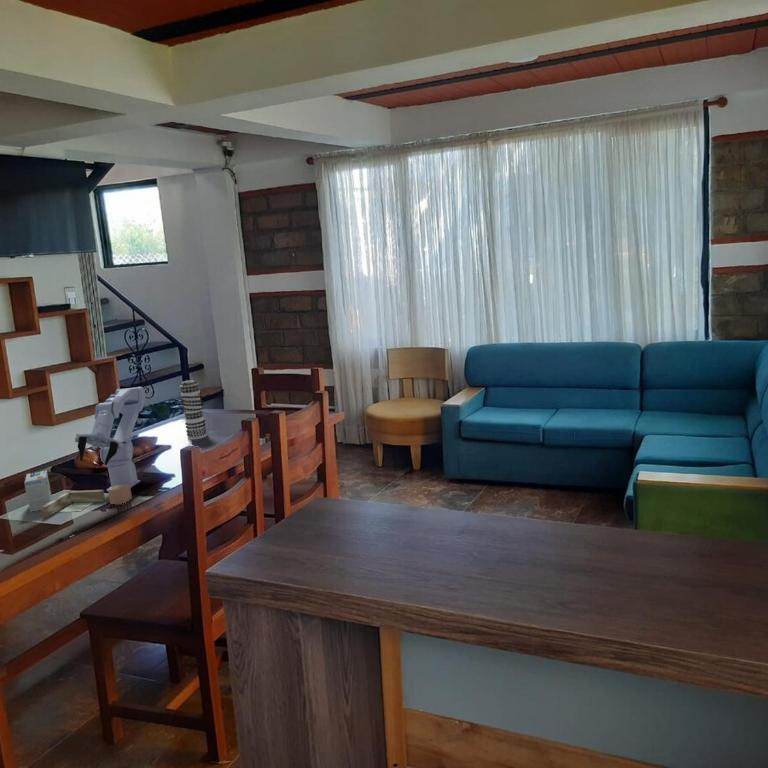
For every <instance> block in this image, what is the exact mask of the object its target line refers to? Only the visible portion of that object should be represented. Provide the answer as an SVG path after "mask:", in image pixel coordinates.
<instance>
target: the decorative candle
mask: <svg viewBox="0 0 768 768" xmlns="http://www.w3.org/2000/svg"><path fill="white" fill-rule="evenodd" d="M199 384H200V383H199V382H197V381H196V380H195V379H189V380H184V381H182V382H181V384H180V385H179V387H180V391H181V392H180V394H181V398H180V401H181V402H180V403H181V406H182V407H181V408H182V412H183V413H184V417H185V419H184V421H185V422H184V425H185V429H186V430H185V432H186V436H187V439H188V440H199V439H200V440H201V439H203V438H206V437H207V436H208V434H207V433H208V431H207V427H206V419H205V417H204V413H203V411H204V407H202V406H203V405H204V403H202V402H203V399H201V398H203V395H202V391H201V390H200V387H199Z"/></svg>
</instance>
